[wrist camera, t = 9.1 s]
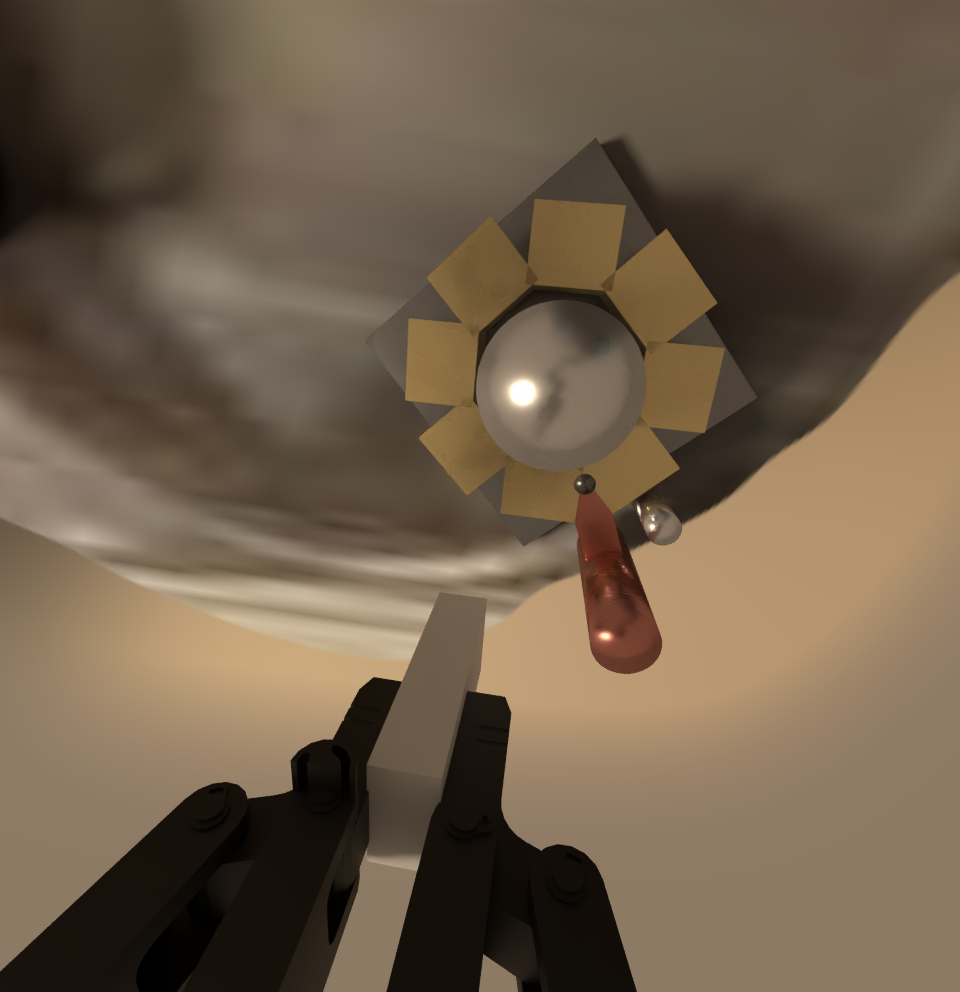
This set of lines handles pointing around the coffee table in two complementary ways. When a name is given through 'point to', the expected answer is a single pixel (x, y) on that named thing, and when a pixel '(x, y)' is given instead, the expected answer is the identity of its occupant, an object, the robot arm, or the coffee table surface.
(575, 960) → the robot arm
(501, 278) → the toothed crank wheel
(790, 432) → the coffee table surface
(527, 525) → the spindle base
